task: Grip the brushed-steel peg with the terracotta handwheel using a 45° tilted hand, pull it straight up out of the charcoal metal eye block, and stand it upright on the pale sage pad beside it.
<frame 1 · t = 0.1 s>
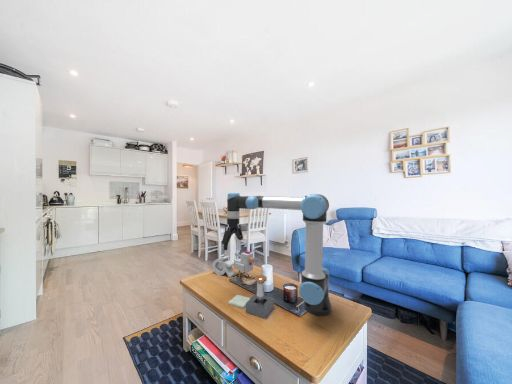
hand: (233, 252, 128), 28 cm above the table, tool pointing down, fingers open, 13 cm apart
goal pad: (240, 301, 124), on the table
sculpture: (223, 274, 165), on the table
eye block: (260, 309, 116), on the table
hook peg: (260, 293, 116), in the eye block
toy: (244, 277, 161), on the table
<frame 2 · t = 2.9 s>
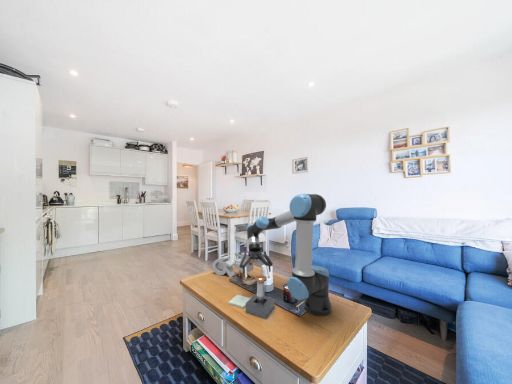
hand: (257, 278, 122), 15 cm above the table, tool tilted 45°, fingers open, 13 cm apart
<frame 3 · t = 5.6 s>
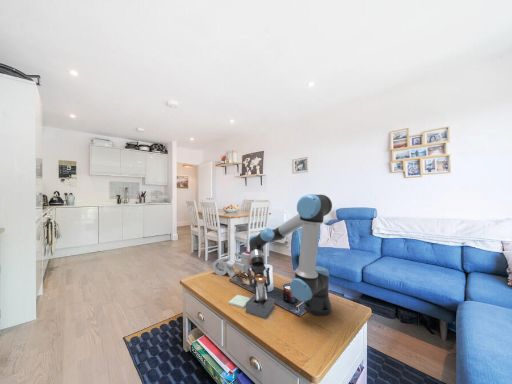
hand: (261, 299, 112), 8 cm above the table, tool tilted 45°, fingers closed on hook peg, 4 cm apart
sculpture: (224, 274, 165), on the table, touching toy
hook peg: (260, 293, 116), in the eye block, touching gripper
toy: (244, 277, 160), on the table, touching sculpture
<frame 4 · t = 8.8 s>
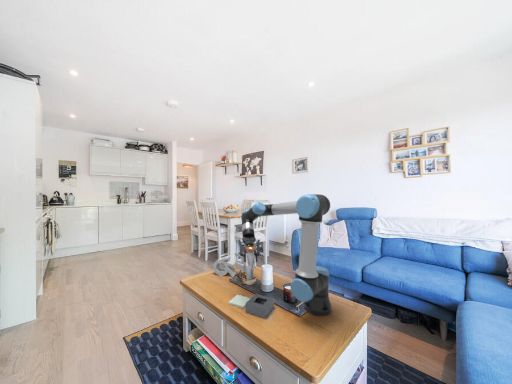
hand: (251, 267, 117), 23 cm above the table, tool tilted 45°, fingers closed on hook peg, 4 cm apart
sculpture: (224, 274, 165), on the table
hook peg: (250, 262, 120), point 25 cm above the table, touching gripper
toy: (244, 277, 161), on the table
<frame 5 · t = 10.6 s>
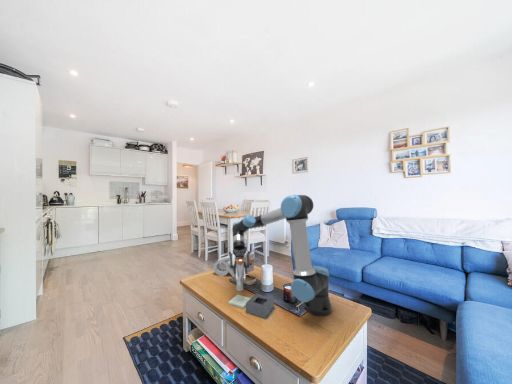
hand: (240, 279, 120), 15 cm above the table, tool tilted 45°, fingers closed on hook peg, 4 cm apart
sculpture: (225, 274, 164), on the table, touching toy
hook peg: (240, 274, 124), point 16 cm above the table, touching gripper
toy: (245, 277, 161), on the table, touching sculpture
when the fingers open (10 cm above the table, at t = 12.1 s): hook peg drops 1 cm, resting on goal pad.
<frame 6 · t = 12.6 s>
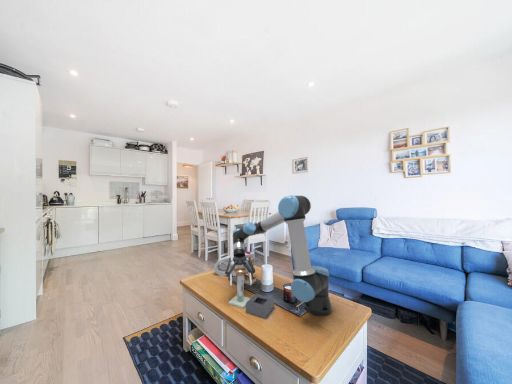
hand: (241, 285, 121), 11 cm above the table, tool tilted 45°, fingers open, 11 cm apart
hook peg: (240, 284, 124), on the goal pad, point 10 cm above the table
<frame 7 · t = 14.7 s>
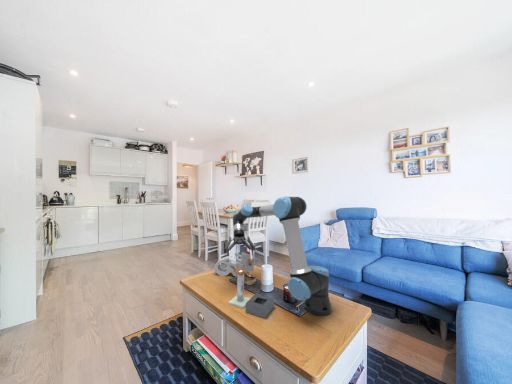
hand: (240, 260, 132), 22 cm above the table, tool tilted 45°, fingers open, 13 cm apart
sculpture: (226, 274, 164), on the table
toy: (245, 276, 161), on the table
everything else where it was.
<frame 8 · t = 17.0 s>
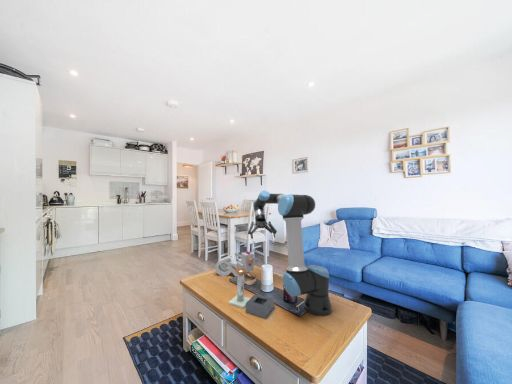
hand: (263, 242, 140), 32 cm above the table, tool tilted 45°, fingers open, 13 cm apart
at the end: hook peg inside the target area (0.0 cm from its centre), point 10.0 cm above the table; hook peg tilted 0°; the gripper is holding nothing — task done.
